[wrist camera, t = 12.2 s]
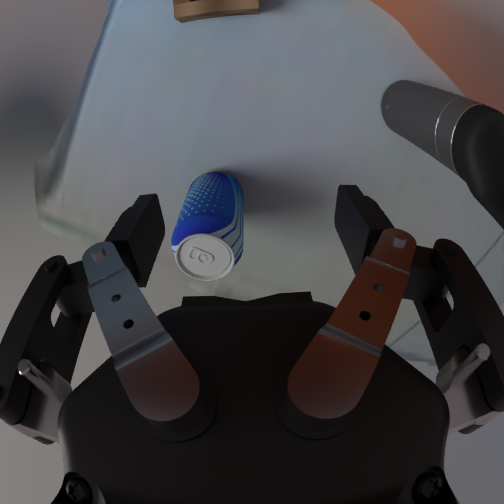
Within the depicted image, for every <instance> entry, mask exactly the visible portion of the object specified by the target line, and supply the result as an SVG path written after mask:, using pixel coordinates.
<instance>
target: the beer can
mask: <svg viewBox="0 0 504 504" xmlns="http://www.w3.org/2000/svg"><path fill="white" fill-rule="evenodd" d="M171 244H172V250H173V253H174V255H175V258H176V262H177V264H178V266H179V268H180V269H181V270H182V271H183V272H184V273H185V274H186V275H188V276H190V277H192V278H194V279H197V280H202V281H213V280H218V279H220V278H223V277H224V276H226V275H227V274H228V273H229V272H230V271H231V270H232V268H233V266H234V265H235V264H236V263H237V262H238V261H239V259H240V257H241V255H242V252H243V191H242V188H241V186H240V184H239V183H238V182H237V181H236V180H235V179H234V178H233V177H232V176H230V175H228V174H225V173H222V172H208V173H205V174H203V175H201V176H199V177H198V178H196V179H195V180H194V182H193V183H192V184H191V186H190V189H189V191H188V194H187V196H186V199H185V202H184V204H183V207H182V210H181V212H180V215H179V218H178V221H177V223H176V226H175V229H174V232H173V235H172V241H171Z"/></svg>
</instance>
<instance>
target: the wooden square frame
mask: <svg viewBox="0 0 504 504" xmlns="http://www.w3.org/2000/svg"><path fill="white" fill-rule="evenodd" d="M173 5H174V18H175V19H176V20H178V21H180V22H181V23H182V22H187V21H193V20H199V19H206V18H214V17H222V16H233V15H247V14H258V11H259V0H199V1H195V0H173Z"/></svg>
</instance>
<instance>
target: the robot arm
mask: <svg viewBox="0 0 504 504" xmlns="http://www.w3.org/2000/svg"><path fill="white" fill-rule="evenodd" d="M381 107H382V115H383V118H384V120H385V122H386V124H387V125H388V127H389V128H390V129H391V130H392V131H394V132H396V133H397V134H399V135H400V136H402V137H404V138H405V139H407V140H408V141H410V142H411V143H413V144H414V145H416V146H417V147H419V148H420V149H422V150H423V151H425V152H426V153H428V154H429V155H431V156H432V157H434V158H435V159H436V160H438V161H439V162H441V163H442V164H443V165H445V166H446V167H447V168H449V169H450V170H451V171H453V172H454V173H455V174H457V175H458V176H459V177H460V178H462V179H463V180H464V181H465V182H466V183H467V185H468V187H469V190H470V191H471V193H472V194H473V196H474V197H475V198H476V200H477V201H478V202H479V203H480V204H481V205H482V206H483V207H484V208H485V209H486V210H487V211H488V212H489V213H490V214H491V215H492V217H493V218H494V219H495V220H496V221H497V222H498V223H499V225H500V226H501V227H502V228H503V229H504V114H502V113H501V112H499V111H498V110H496V109H494V108H491V107H489V106H486V105H484V104H481V103H479V102H476V101H474V100H471V99H468V98H465V97H462V96H460V95H457V94H454V93H451V92H447V91H444V90H441V89H438V88H434V87H431V86H427V85H423V84H420V83H416V82H411V81H407V80H401V81H397V82H395V83H393V84H391V85H390V86H389V87H388V88H387V90H386V91H385V93H384V96H383V98H382V104H381ZM335 228H336V230H337V233H338V235H339V237H340V239H341V242H342V244H343V246H344V249H345V251H346V253H347V256H348V258H349V260H350V263H351V265H352V268H353V270H354V273H355V275H356V276H355V277H354V279H353V281H352V283H351V284H350V286H349V288H348V289H347V291H346V293H345V294H344V296H343V298H342V299H341V301H340V303H339V304H338V306H337V308H335V307H333V306H331V305H328V304H325V303H321V302H317V301H313V300H312V296H311V291H310V292H294V293H279V294H275V295H271V296H267V297H263V298H259V299H254V300H250V301H240V300H234V299H228V298H223V297H217V296H189V297H188V296H186V297H183V300H182V305H181V306H179V307H176V308H173V309H170V310H167V311H165V312H163V313H162V314H160V315H158V316H157V317H156V315H155V314H154V312H153V311H152V309H151V307H150V305H149V304H148V302H147V300H146V299H145V297H144V296H143V294H142V292H141V290H140V289H139V287H146V285H147V282H148V279H149V276H150V274H151V271H152V268H153V265H154V262H155V260H156V257H157V254H158V252H159V249H160V246H161V244H162V241H163V238H164V235H165V224H164V220H163V216H162V211H161V207H160V203H159V199H158V196H157V194H146V195H140V196H139V197H138V198H137V200H136V201H135V203H134V204H133V206H132V207H129V208H128V209H127V210H125V211H124V212H123V213H122V214H121V216H120V217H119V219H118V221H117V222H116V223H115V225H114V227H113V228H112V230H111V231H110V233H109V234H108V236H107V238H106V239H105V241H104V242H99V243H97V244H94V245H93V246H91V247H90V248H88V249H87V250H86V251H85V253H84V254H83V256H82V261H79V262H75V263H72V264H69V265H68V263H67V261H66V259H65V258H64V256H61V255H57V256H53V257H51V258H49V259H48V260H46V261H45V262H44V263H43V264H42V265H41V266H40V268H39V269H38V271H37V273H36V274H35V276H34V278H33V279H32V281H31V283H30V285H29V287H28V288H27V290H26V292H25V294H24V296H23V297H22V299H21V301H20V303H19V305H18V307H17V309H16V311H15V313H14V315H13V317H12V319H11V321H10V323H9V325H8V327H7V329H6V332H5V334H4V336H3V338H2V341H1V343H0V418H1V419H2V420H4V422H5V423H7V424H8V425H10V426H11V427H13V428H15V429H16V430H18V431H19V432H21V433H23V434H25V435H26V436H29V437H32V438H34V439H35V440H37V441H39V442H41V443H43V444H47V445H48V444H52V443H54V442H58V443H60V445H61V450H62V455H63V463H64V480H63V484H62V487H61V489H60V491H59V493H58V494H57V496H56V497H55V499H54V500H53V501H52V503H51V504H460V503H459V502H458V500H457V499H456V497H455V496H454V494H453V492H452V490H451V488H450V486H449V484H448V482H447V480H446V477H445V473H444V454H445V446H446V440H447V435H448V434H451V433H453V432H456V431H459V432H460V433H462V434H469V433H471V432H473V431H475V430H476V429H478V428H480V427H481V426H483V425H485V424H486V423H488V422H489V421H491V420H492V419H494V418H495V417H497V416H498V415H500V414H501V413H503V412H504V316H503V314H502V312H501V310H500V308H499V306H498V305H497V303H496V301H495V299H494V297H493V296H492V294H491V292H490V291H489V289H488V287H487V286H486V284H485V282H484V281H483V279H482V277H481V276H480V274H479V273H478V271H477V270H476V268H475V267H474V265H473V264H472V262H471V261H470V259H469V258H468V256H467V255H466V253H465V252H464V251H463V249H462V248H461V247H460V246H459V245H458V244H456V243H455V242H453V241H451V240H448V239H438V240H436V242H435V244H434V247H433V249H431V248H427V247H422V246H417V245H416V240H415V239H414V237H413V236H412V235H410V234H409V233H407V232H406V231H403V230H401V229H396V228H394V226H393V225H392V223H391V222H390V220H389V219H388V218H387V216H386V215H385V214H384V212H383V211H382V209H380V207H379V205H378V204H377V203H376V201H374V200H373V199H371V198H370V197H368V196H364V195H363V193H362V192H361V191H360V189H359V188H358V187H357V185H339V187H338V193H337V201H336V209H335ZM448 291H450V293H451V295H452V297H453V301H454V307H453V311H452V309H451V307H450V304H449V302H448V300H447V298H446V295H447V293H448ZM402 298H404V299H410V300H413V302H414V304H415V306H416V309H417V311H418V314H419V316H420V319H421V321H422V324H423V326H424V329H425V332H426V334H427V337H428V340H429V343H430V346H431V348H432V351H433V354H434V357H435V360H436V363H437V366H438V370H439V372H438V374H437V376H436V384H435V383H433V382H432V381H431V380H430V379H428V378H427V377H426V376H425V375H423V374H422V373H421V372H420V371H418V370H417V369H416V368H414V367H413V366H412V365H411V364H409V363H408V362H407V361H406V360H404V359H403V358H402V357H400V356H399V355H398V354H397V353H395V352H394V351H393V350H392V349H390V348H389V347H388V346H386V345H385V342H386V340H387V337H388V335H389V332H390V330H391V327H392V324H393V322H394V319H395V316H396V314H397V311H398V308H399V305H400V302H401V300H402ZM55 304H57V306H58V307H59V309H60V310H61V312H60V314H59V317H58V319H57V322H56V324H55V326H54V327H53V325H52V322H51V313H52V310H53V308H54V306H55ZM92 312H95V313H96V316H97V319H98V321H99V324H100V327H101V329H102V332H103V335H104V337H105V340H106V342H107V345H108V347H109V350H110V352H111V354H112V356H111V357H110V358H108V359H107V360H106V361H105V362H104V363H103V364H102V365H101V366H100V367H98V368H97V369H96V370H95V371H94V372H93V373H92V374H91V375H90V376H89V377H88V378H86V379H85V380H84V381H83V382H82V383H81V384H80V385H79V386H78V387H76V388H75V389H74V390H73V391H72V388H71V385H70V384H71V380H72V376H73V372H74V368H75V365H76V361H77V358H78V355H79V351H80V348H81V345H82V341H83V338H84V335H85V332H86V329H87V326H88V323H89V320H90V318H91V314H92Z"/></svg>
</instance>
